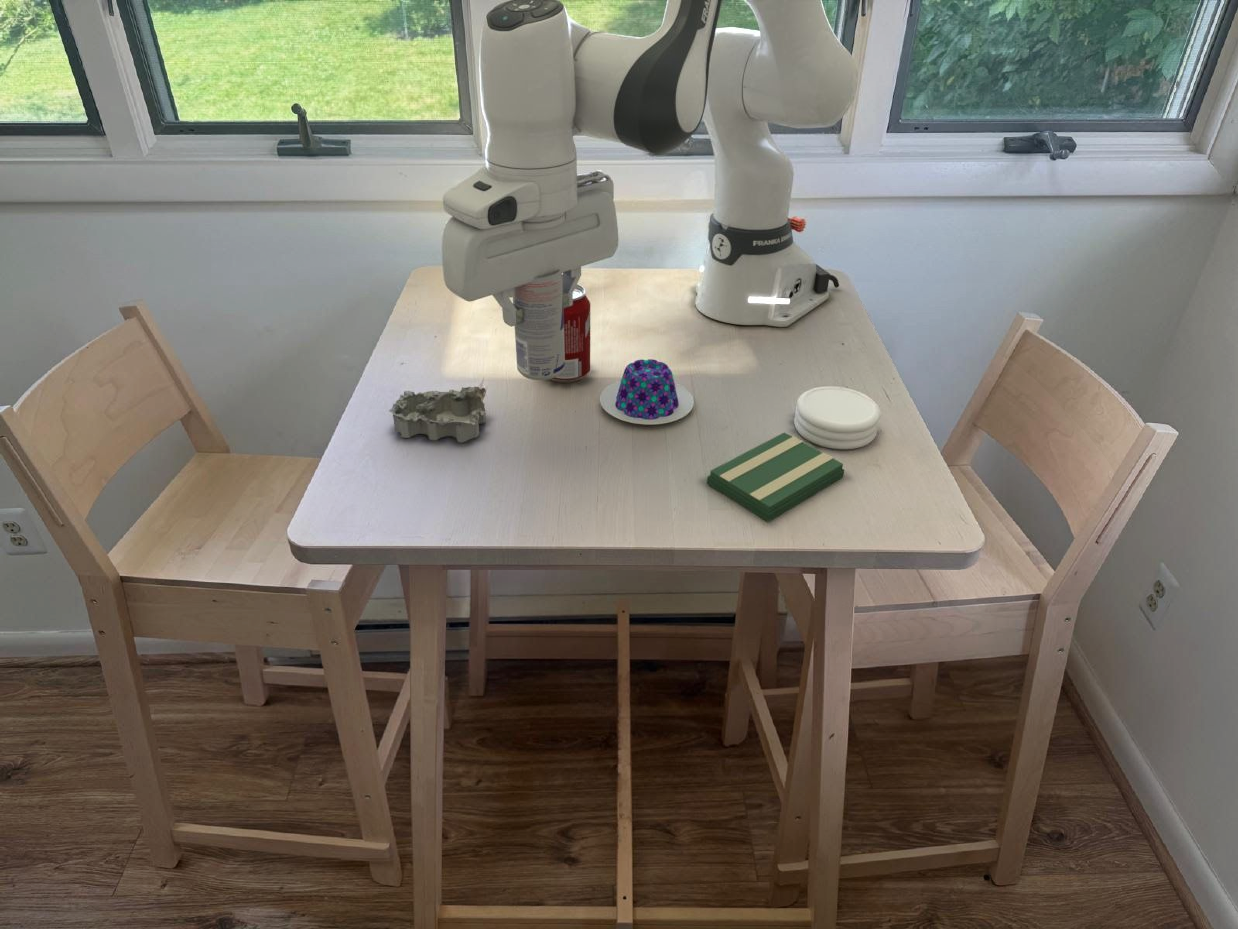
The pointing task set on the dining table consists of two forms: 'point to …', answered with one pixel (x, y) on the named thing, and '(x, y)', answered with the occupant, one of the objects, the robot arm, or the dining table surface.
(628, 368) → the pudding
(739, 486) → the tea towel
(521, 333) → the energy drink
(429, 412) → the egg carton
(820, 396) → the coaster
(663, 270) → the dining table surface
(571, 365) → the soda can
